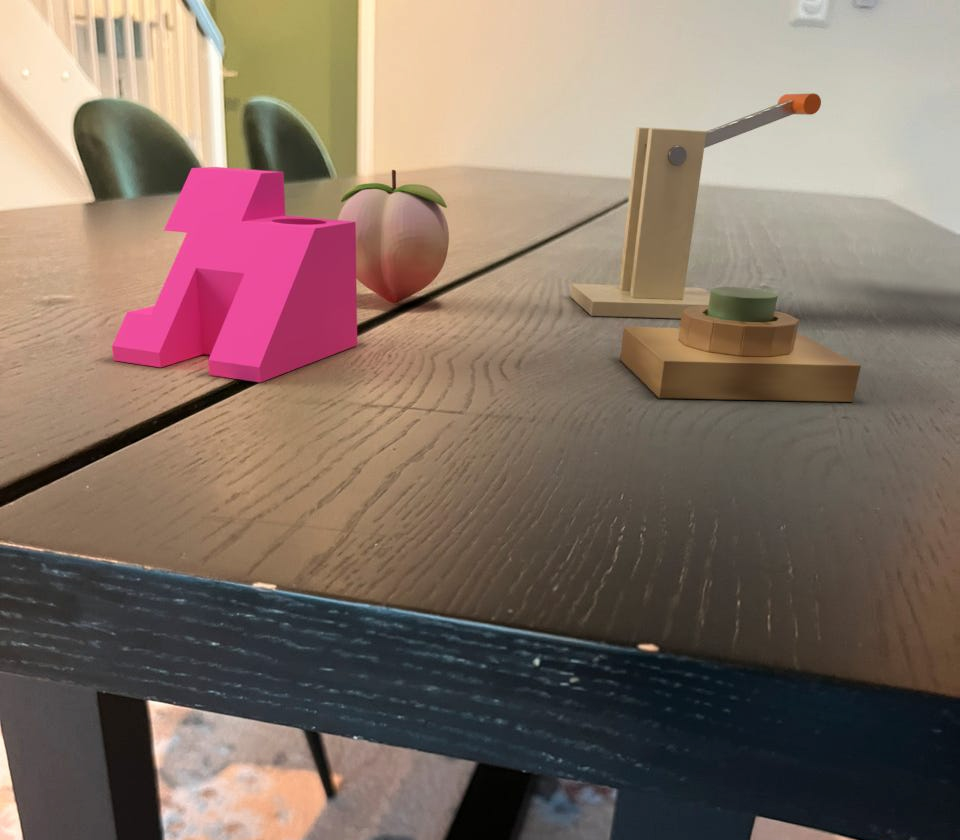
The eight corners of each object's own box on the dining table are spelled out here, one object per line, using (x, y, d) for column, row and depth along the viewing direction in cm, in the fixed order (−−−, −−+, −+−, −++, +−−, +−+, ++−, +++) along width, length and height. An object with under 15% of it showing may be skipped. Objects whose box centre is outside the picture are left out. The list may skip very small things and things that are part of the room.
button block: (789, 363, 67) (801, 303, 65) (853, 402, 58) (868, 333, 57) (619, 359, 66) (626, 298, 64) (658, 398, 57) (668, 328, 55)
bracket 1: (227, 327, 69) (215, 166, 64) (357, 345, 66) (354, 177, 61) (113, 360, 59) (89, 172, 54) (260, 382, 56) (247, 185, 51)
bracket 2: (699, 301, 89) (724, 131, 83) (732, 320, 81) (762, 134, 75) (570, 297, 88) (585, 124, 81) (591, 316, 80) (609, 126, 73)
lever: (796, 116, 81) (791, 85, 80) (823, 117, 76) (819, 83, 75) (646, 173, 82) (639, 143, 81) (663, 178, 77) (656, 145, 76)
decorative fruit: (461, 300, 84) (466, 171, 79) (434, 315, 77) (437, 175, 72) (358, 290, 86) (357, 164, 81) (322, 305, 79) (318, 167, 74)
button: (758, 316, 62) (763, 287, 62) (782, 329, 59) (787, 298, 58) (698, 314, 62) (702, 286, 61) (718, 327, 58) (723, 296, 58)
